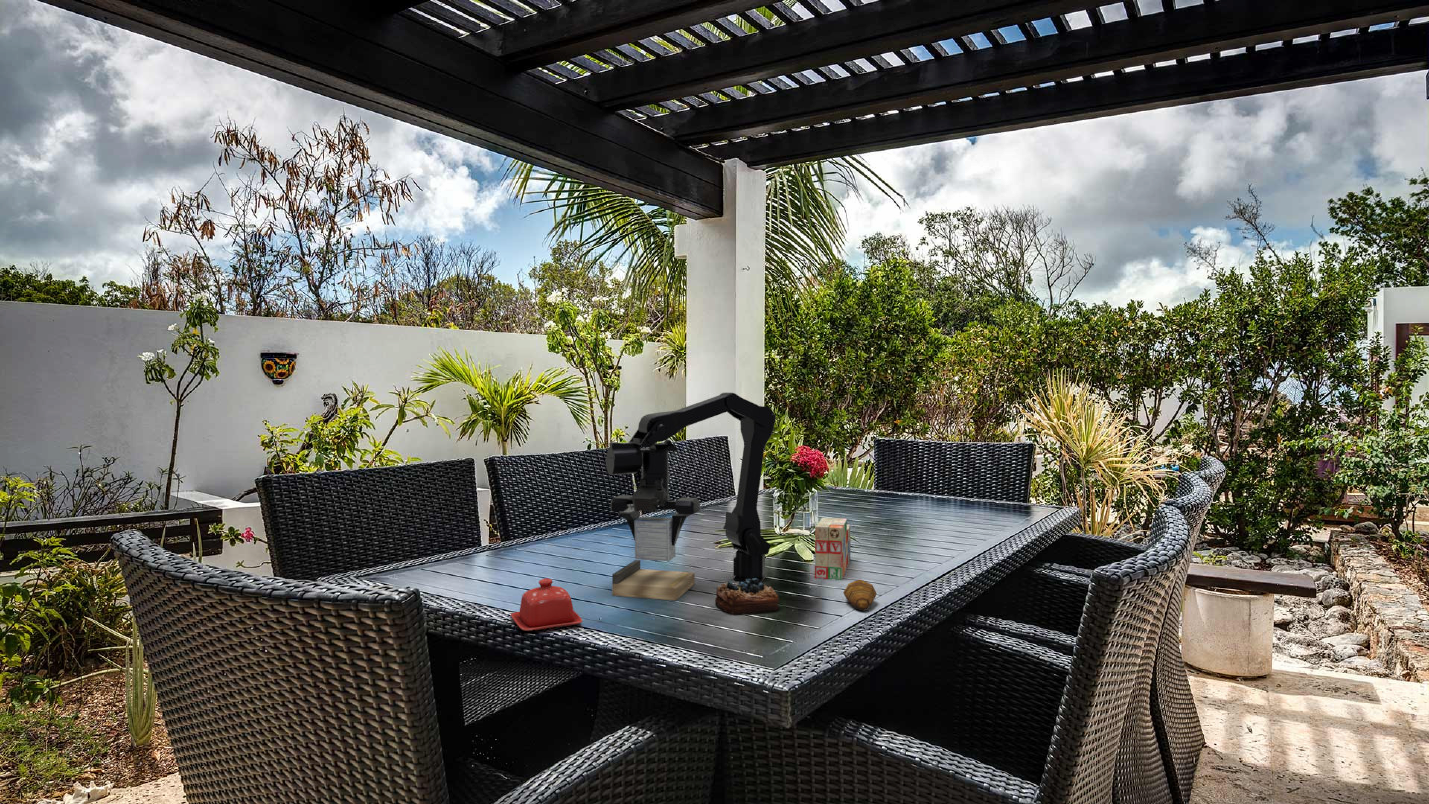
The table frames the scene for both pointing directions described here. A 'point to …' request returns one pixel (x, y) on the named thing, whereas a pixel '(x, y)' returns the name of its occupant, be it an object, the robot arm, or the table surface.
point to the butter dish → (545, 608)
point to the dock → (650, 582)
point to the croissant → (860, 594)
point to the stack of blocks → (832, 548)
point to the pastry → (746, 597)
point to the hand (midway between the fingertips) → (655, 544)
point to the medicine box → (654, 538)
